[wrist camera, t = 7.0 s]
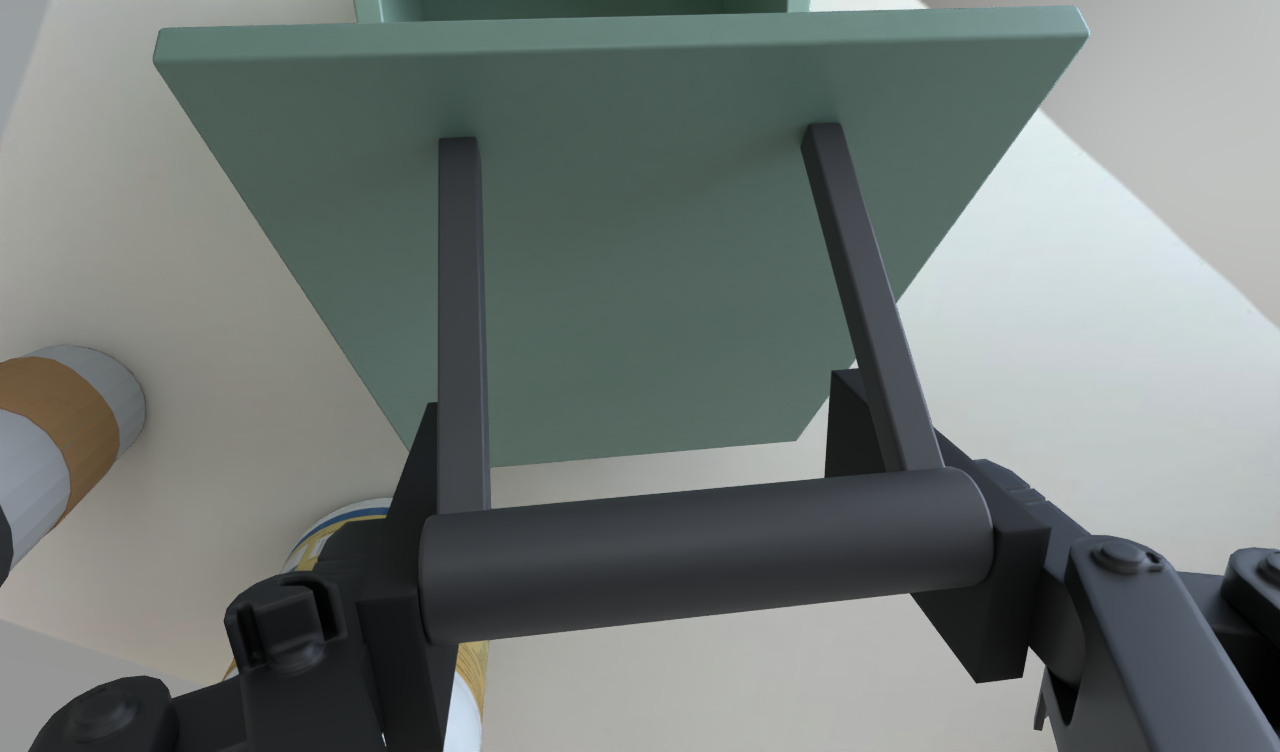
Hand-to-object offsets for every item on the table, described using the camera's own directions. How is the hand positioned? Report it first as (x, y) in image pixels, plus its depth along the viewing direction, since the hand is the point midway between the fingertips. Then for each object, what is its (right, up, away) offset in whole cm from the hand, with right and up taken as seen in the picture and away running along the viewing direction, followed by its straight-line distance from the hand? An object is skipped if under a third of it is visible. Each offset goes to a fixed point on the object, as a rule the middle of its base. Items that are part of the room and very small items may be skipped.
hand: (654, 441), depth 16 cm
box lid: (-1, +3, +5) cm, 6 cm away
